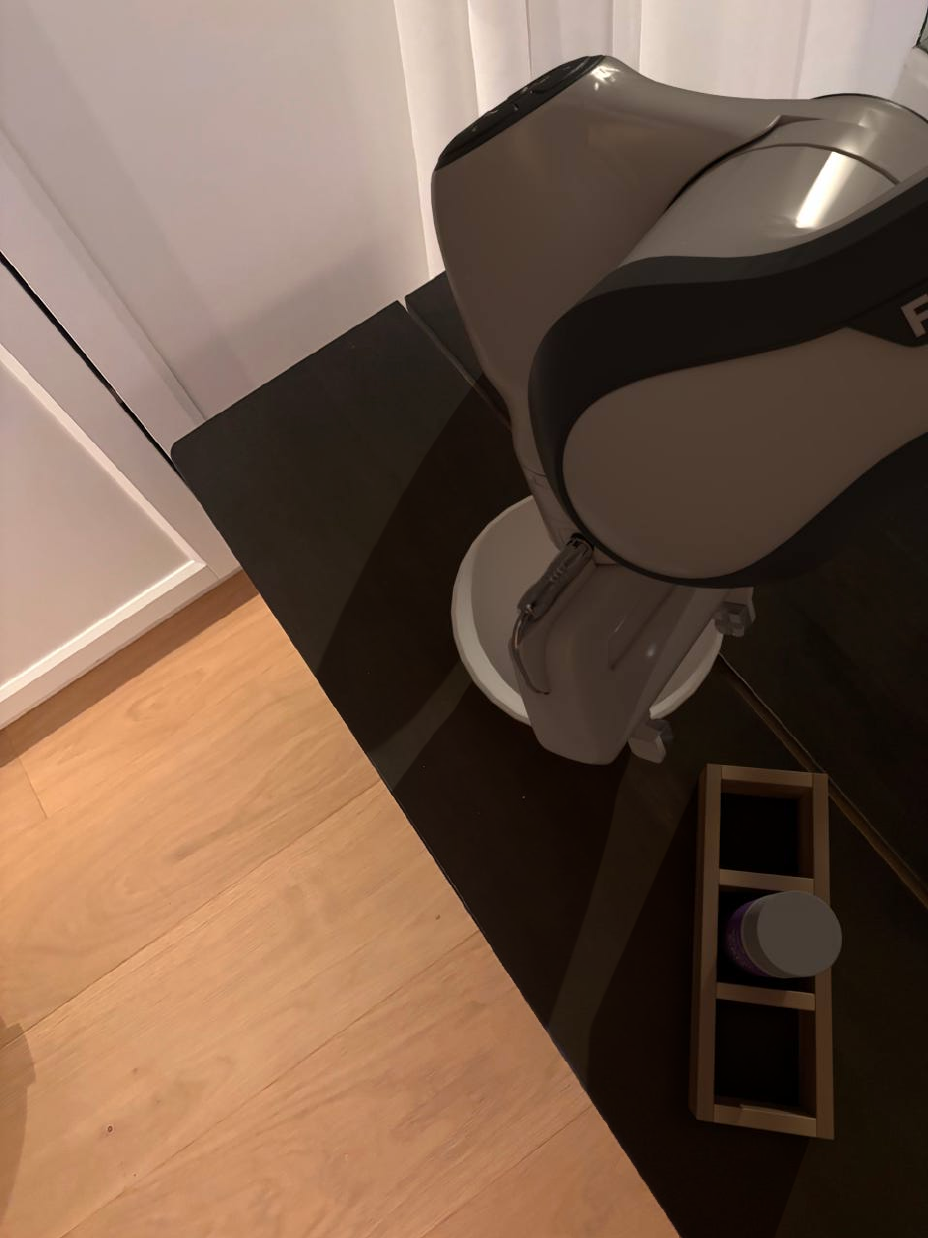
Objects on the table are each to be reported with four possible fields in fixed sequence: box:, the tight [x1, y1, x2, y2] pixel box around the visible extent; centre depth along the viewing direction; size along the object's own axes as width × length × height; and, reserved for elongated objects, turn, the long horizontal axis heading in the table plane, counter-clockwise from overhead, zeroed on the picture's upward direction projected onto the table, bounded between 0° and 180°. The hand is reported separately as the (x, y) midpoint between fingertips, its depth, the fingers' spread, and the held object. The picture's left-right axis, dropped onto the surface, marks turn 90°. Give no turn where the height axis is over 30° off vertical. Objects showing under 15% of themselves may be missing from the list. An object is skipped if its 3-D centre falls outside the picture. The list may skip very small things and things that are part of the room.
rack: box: [688, 763, 835, 1141], centre depth 61 cm, size 8×22×5 cm, turn 173°
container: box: [718, 891, 843, 979], centre depth 56 cm, size 5×5×15 cm
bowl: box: [450, 494, 724, 728], centre depth 69 cm, size 20×19×8 cm
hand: (697, 686), depth 49 cm, fingers open, 8 cm apart
